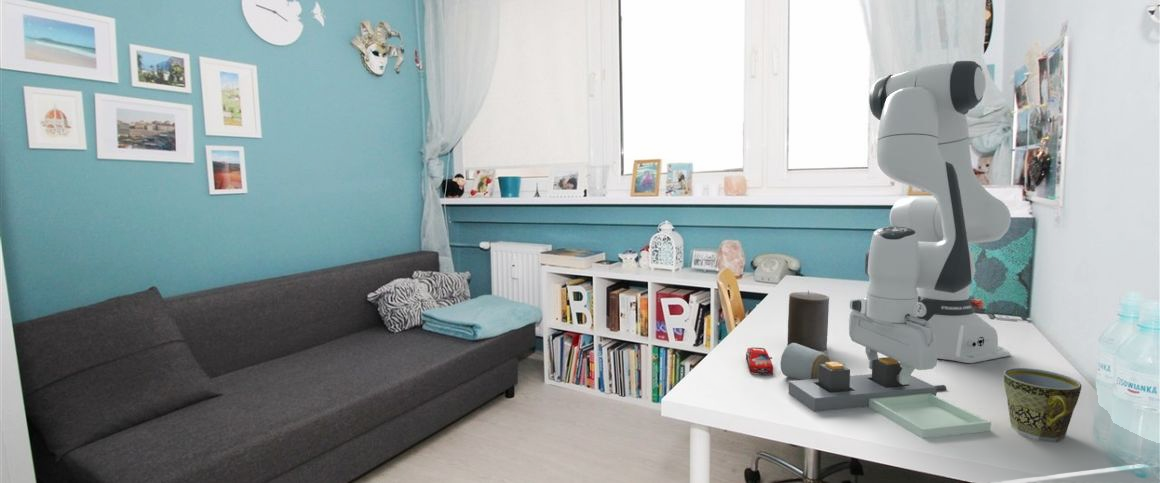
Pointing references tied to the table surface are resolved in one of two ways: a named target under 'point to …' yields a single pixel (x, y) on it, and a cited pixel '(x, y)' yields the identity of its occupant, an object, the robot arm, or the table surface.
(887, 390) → the power strip
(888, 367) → the plug
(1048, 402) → the ceramic cup
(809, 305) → the pillar candle
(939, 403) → the tray
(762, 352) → the race car
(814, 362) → the ceramic mug
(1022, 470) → the table surface
